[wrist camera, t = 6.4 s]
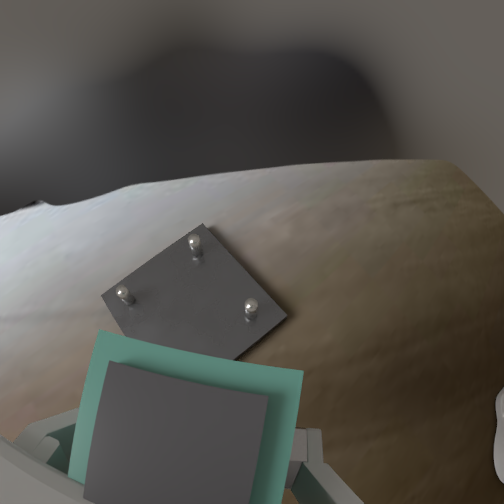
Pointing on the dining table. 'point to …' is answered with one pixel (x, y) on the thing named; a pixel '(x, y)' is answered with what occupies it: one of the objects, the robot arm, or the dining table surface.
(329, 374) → the dining table surface
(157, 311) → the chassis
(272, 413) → the block
